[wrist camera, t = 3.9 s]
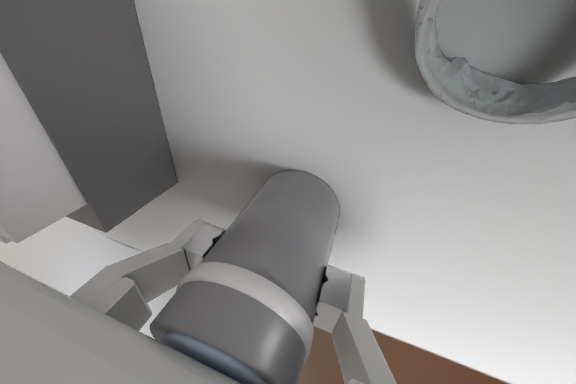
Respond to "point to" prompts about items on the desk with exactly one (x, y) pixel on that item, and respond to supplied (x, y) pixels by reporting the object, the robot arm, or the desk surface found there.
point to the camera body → (76, 116)
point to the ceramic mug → (486, 83)
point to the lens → (258, 285)
